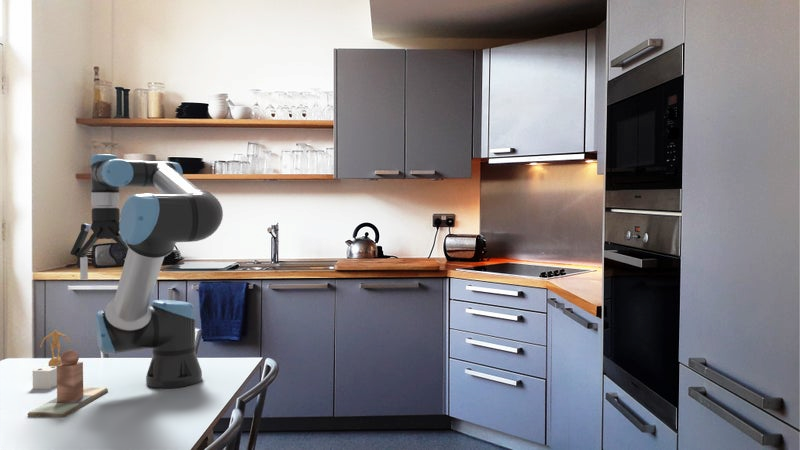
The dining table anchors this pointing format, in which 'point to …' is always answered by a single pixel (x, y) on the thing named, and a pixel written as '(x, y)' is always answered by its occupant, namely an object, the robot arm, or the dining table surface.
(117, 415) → the dining table surface
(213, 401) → the dining table surface
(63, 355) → the pawn
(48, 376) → the die
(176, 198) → the robot arm
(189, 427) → the dining table surface
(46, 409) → the board
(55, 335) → the figurine
